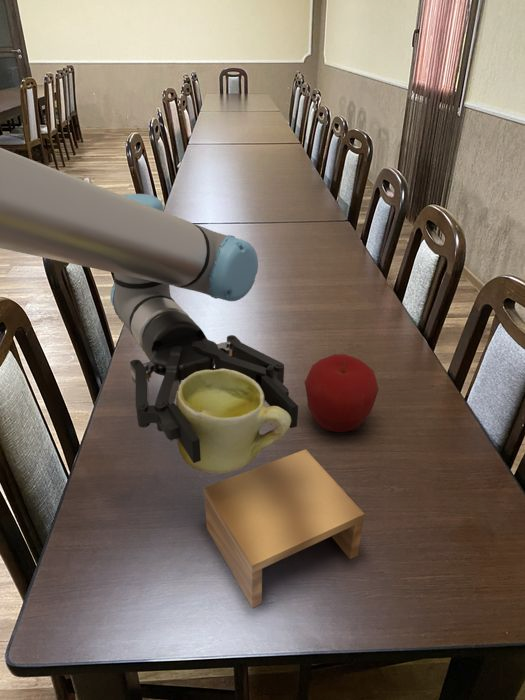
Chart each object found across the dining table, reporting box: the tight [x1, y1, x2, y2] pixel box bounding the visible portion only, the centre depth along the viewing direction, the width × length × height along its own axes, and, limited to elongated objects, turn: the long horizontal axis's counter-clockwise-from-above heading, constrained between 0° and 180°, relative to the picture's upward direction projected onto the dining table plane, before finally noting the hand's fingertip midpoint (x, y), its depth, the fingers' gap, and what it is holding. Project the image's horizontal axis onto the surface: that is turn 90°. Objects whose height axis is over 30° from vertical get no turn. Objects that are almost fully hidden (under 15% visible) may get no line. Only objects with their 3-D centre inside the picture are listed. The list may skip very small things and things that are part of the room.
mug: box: [175, 369, 291, 474], centre depth 58 cm, size 12×10×10 cm
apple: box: [304, 353, 379, 433], centre depth 80 cm, size 11×11×12 cm
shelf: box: [203, 448, 365, 609], centre depth 62 cm, size 14×12×7 cm
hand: (247, 433), depth 54 cm, fingers closed on mug, 10 cm apart
